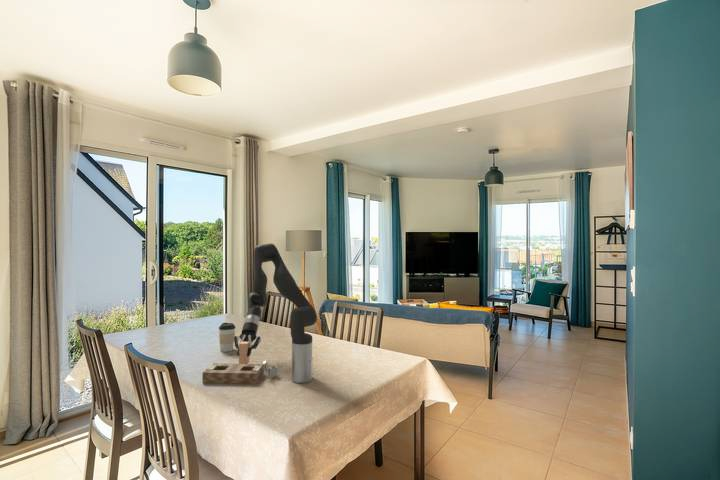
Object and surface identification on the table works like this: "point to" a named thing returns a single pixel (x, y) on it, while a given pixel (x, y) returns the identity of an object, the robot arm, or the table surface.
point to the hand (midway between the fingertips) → (243, 355)
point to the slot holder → (233, 373)
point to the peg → (243, 352)
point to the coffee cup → (226, 336)
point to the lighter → (271, 370)
